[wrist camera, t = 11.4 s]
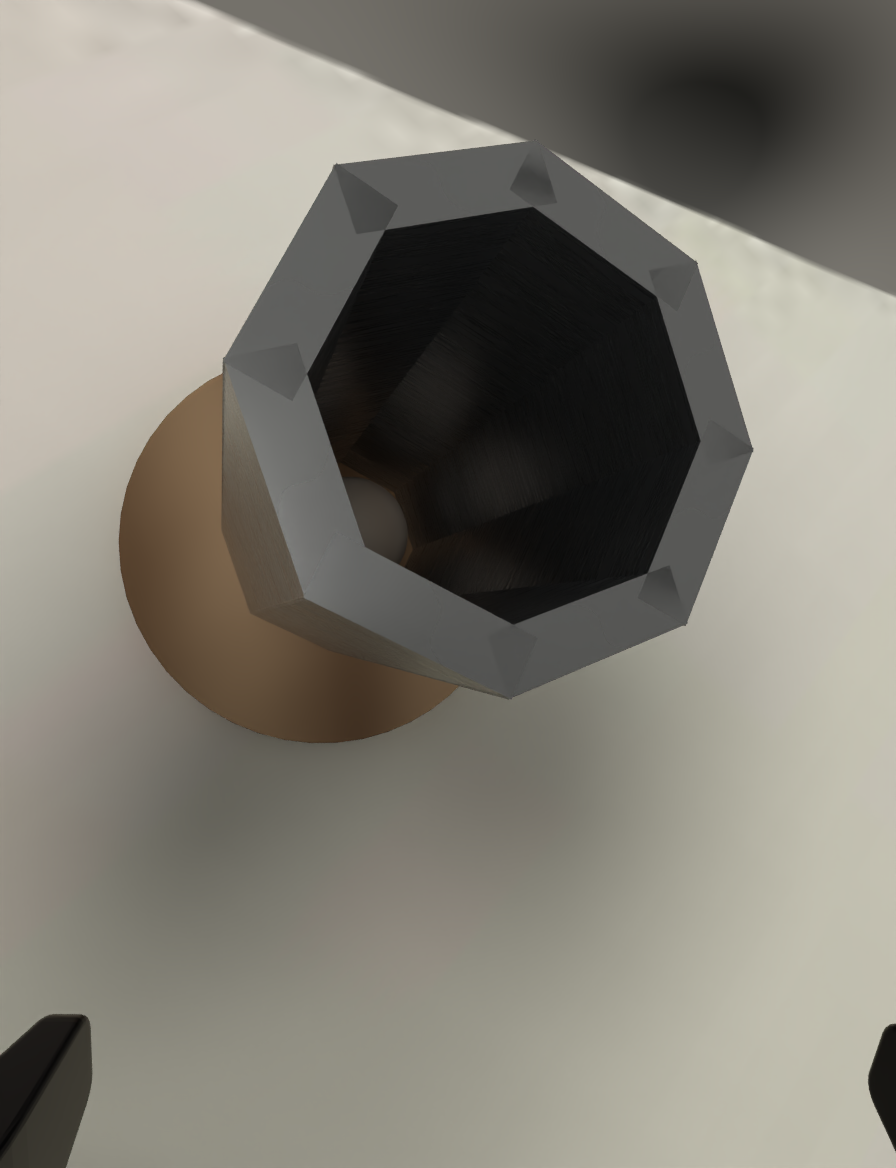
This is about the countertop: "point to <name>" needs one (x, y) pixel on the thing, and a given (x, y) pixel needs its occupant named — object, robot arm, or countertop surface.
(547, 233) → the steel sleeve
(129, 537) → the post stand
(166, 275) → the countertop surface
